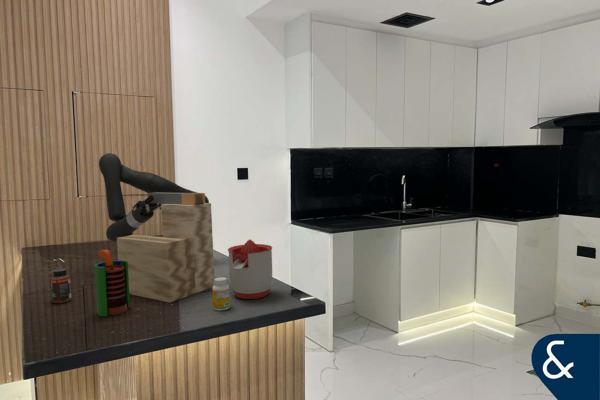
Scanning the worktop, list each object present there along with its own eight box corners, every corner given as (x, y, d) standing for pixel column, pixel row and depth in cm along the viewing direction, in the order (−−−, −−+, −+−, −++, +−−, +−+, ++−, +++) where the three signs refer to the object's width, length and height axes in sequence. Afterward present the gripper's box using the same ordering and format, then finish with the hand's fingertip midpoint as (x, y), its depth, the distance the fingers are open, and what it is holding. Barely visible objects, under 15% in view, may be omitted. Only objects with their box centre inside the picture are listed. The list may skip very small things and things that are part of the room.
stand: (166, 278, 185) (162, 201, 182) (214, 286, 170) (210, 203, 168) (120, 292, 166) (114, 207, 164) (169, 302, 152) (164, 209, 149)
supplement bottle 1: (75, 299, 159) (73, 268, 158) (61, 304, 153) (59, 272, 152) (62, 298, 161) (60, 267, 160) (48, 303, 155) (46, 271, 154)
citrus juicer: (218, 301, 152) (215, 243, 150) (243, 287, 168) (241, 235, 166) (259, 305, 146) (256, 245, 144) (281, 290, 162) (279, 236, 161)
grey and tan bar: (158, 202, 181) (158, 192, 180) (205, 203, 167) (204, 193, 166) (146, 203, 175) (145, 193, 175) (193, 205, 162) (192, 194, 161)
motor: (115, 317, 139) (111, 254, 137) (90, 315, 141) (85, 253, 139) (133, 306, 149) (130, 247, 147) (110, 305, 151) (106, 247, 149)
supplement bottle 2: (214, 305, 147) (212, 277, 146) (230, 305, 148) (229, 276, 147) (212, 311, 142) (211, 281, 141) (229, 310, 142) (228, 280, 141)
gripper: (121, 209, 178) (142, 189, 169) (150, 205, 190) (172, 186, 181) (128, 225, 176) (150, 206, 168) (157, 221, 188) (179, 202, 180)
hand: (161, 196), depth 175 cm, fingers open, 8 cm apart
